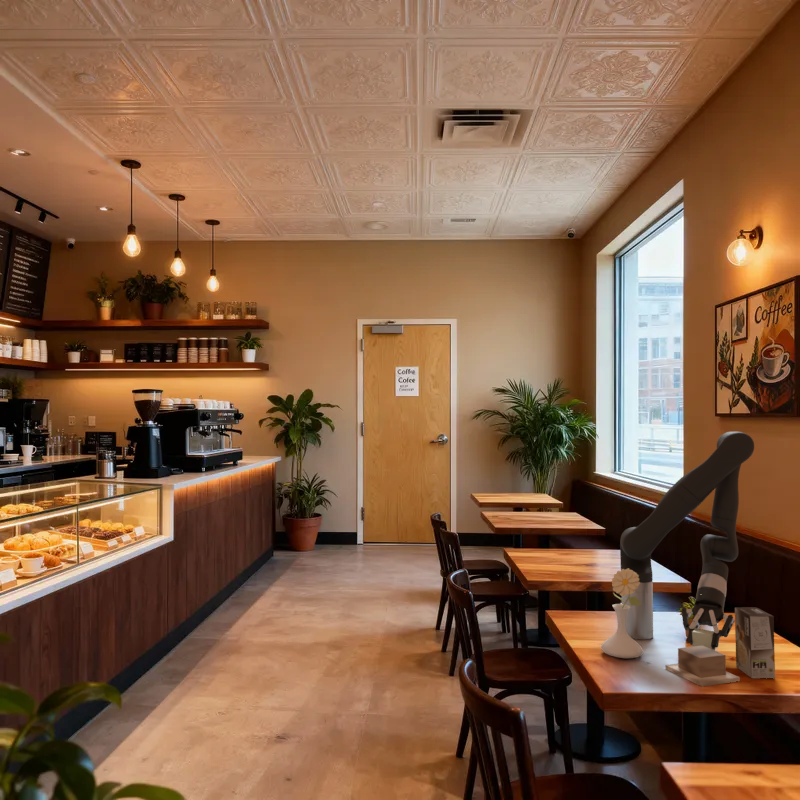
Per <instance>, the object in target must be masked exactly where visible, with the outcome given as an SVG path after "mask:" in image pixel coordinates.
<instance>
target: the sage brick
mask: <svg viewBox="0 0 800 800" xmlns="http://www.w3.org/2000/svg"><path fill="white" fill-rule="evenodd" d="M713 633H714V630H707V629H701V628H698V629H697V628H696V629H695V630H693V631H692V639H693V644H692V645H691V647H693V646H705V647H707V648H710V649H712V647H711V642H712V638H713ZM712 650H715V651H716V648H715V649H712Z"/></svg>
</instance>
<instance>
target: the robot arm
mask: <svg viewBox="0 0 800 800" xmlns="http://www.w3.org/2000/svg"><path fill="white" fill-rule="evenodd" d="M754 450H755V442H754V439H753V438H752V437H751V435H750V434H747V433H745V432H744V431H743V432H742V431H727V432H724V433H722V434H721V435H720V436H719V437H718V439H717V441H716V449H715V450H714V451H713V452H712V453H711V455H709V456H708V458H707V459H706V460H704V461H703V462H701V464H699V465H698V466H696V467H695V468H693V469H691V470H690V471H688V472H687V473H686V474H684V475H682V477H680V478H679V480H677V481H675V483H674V484H673V485H672V486H671V487H670V488H669V489H668V490H667V491H666V492H665V494H664V495H663V496H662V498H661V499H660V500H659V502H658V503H657V505H656V506H655V508H654V510H653V511H652V512H651V513H650V514H649V516H647V518H645V519H644V520H643V521H642V522H641V523H640V524H639V525H637V526H633V527H629V528H626V529H625V530H624V531H623V532H622V533H621V536H620V542H619V543H620V544H619V547H620V548H619V550H620V551H619V552H620V553H619V554H620V571H621V570H622V569H624V570H626V569H628V568H629V569H630V570H632V571H633V572H635V573H637V575H639V577H638V578H639V581H638V582H640V584H639V586H638V588H637V589H635V592H634V593H633V594H631V595H630V597H633V596H635V597H636V598H637V599H638V601H639V602H640V604H641V605H636V606H633V605H631V604H630V602H629V599H628V596H629V594H627V595H626V596H621V598H622V599H623V600H624V602H623V601H622V600H621V602H619V604H624V603H625V602H626V600H627V599H628V601H627V602H626V604H625V605H628V606H630V607H631V608H630V609H629V611H628V613H627V616H626V631H627V634H628V635H629V636H630V637H631V638H632V639H633V640H650V639H653V638H654V600H653V598H654V595H653V592H654V591H653V590H654V589H653V588H654V587H653V569H652V553H653V552H654V551H655V549H656V548H657V546H658V545H659V544H660V543H661V542H662V541H663V539H664V538H666V536H667V535H668V534H669V532H670V531H672V530H673V529H674V528H675V527H676V526H678V525H679V524H680V523H681V522H682V521H684V520H685V519H686V518H688V517H689V515H690V514H691V513H693V512H694V511H695V510H696V509H697V508H698V507H699V506H700V505H701V504H702V503H703V502H704V501H705V500H706V499H707V498H708V496H710V494H711V493H712V492H714V495H713V502H712V509H711V515H710V525H711V526H712V527H714V528H717V529H719V530H721V531H723V532H724V533H725V534H726V537H725V536H720V535H715V534H712V533H711V534H708V533H707V534H705V535H703V537H701V540H700V553H701V557H702V566H701V567H702V570H701V575H700V578H699V581H698V585H697V590H696V595H695V600H694V605H693V606H692V608H686V607H682V608H681V614H682V615H681V616H682V617H681V618H682V625H683V628H684V630H685V631H688V634H687V640H688V643H689V645H691V646H692V644H693V639H692V631H693V630H695V629H696V628H697V629H701V626H708V627H712V629H713V631H714V633H713V638H712V642H711V647H712V649H715V650H716V648H718V647H719V643H720V638H722V637H724V638H727V637H728V636H729V634H730V632H731V630H732V627H733V626H734V624H735V617H734V616H733V614H729V615H728V614H725V613H724V609H725V604H726V603H725V602H726V597H727V590H728V589H727V583H728V579H729V578H728V577H729V567H728V565H727V564H726V562H730V563H731V562H734V561H736V559H738V556H739V546H738V545H739V544H738V539H737V527H736V526H737V518H738V511H739V503H740V502H739V499H740V497H739V495H740V494H739V476H740V470H741V467H742V464H743V463H745V462H746V461H748V459H750V458H751V456H752V455H753V453H754ZM700 594H702V595H700ZM630 597H629V598H630ZM692 615H693V616H694V618H693V619H692V622H691V623H690V622H689V618H690V617H691V616H692ZM723 620H724V624H723V626H722V628H721V629H719V626H718V624H719V623H720V622H721V621H723ZM689 623H690V624H689Z"/></svg>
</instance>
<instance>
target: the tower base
mask: <svg viewBox="0 0 800 800" xmlns="http://www.w3.org/2000/svg"><path fill="white" fill-rule="evenodd" d="M677 653H678V654H677V659H678V660H677V661H678V662H677V663H670V664H665V670H666V671H667V670H668V672H669V671H670V672H671V673H673V674H675V675H678V676H679V677H681V678H684V679H685V680H688V681H690V682H692V683H693V684H695V685H698V686H699V687H707V686H708V687H709V686H715V685H716V686H717V685H722V684H728V683H729V684H730V682H731V683H737V682H736V681H738V682H741V681H740V679H741V678H740V676H738V675H735V674H733V673H731V672H728V671H727V668H726V667H727V666H726V664H727V663H726V662H727V661H726V654H724V653H721V652H719V651H717V650H716V649H715V650H712V649H710V648H707V647H705V646H693V647H692V646H686V647H679V648H677Z"/></svg>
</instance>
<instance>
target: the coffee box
mask: <svg viewBox="0 0 800 800" xmlns="http://www.w3.org/2000/svg"><path fill="white" fill-rule="evenodd" d="M774 617H775V616H774V615H772V614H770V613H768V612H766V611H764V610H762V609H761V608H759V607H753V606H751V607H750V606H746V607H745V606H742V607H739V606H738V607H734V624H735V625H734V627H735V628H734V629H735V631H734V632H735V634H734V635H735V664H736V665H735V666H736V668H737V669H739V670H740V671H741V672H742V673H745V675H747V676H748V677H750V678H751V679H760V678H766V679H767V678H773V679H772V680H774V678H775V679H776V664H775V663H776V659H775V625H774V624H775V621H774V620H775V618H774ZM767 680H768V679H767Z"/></svg>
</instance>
